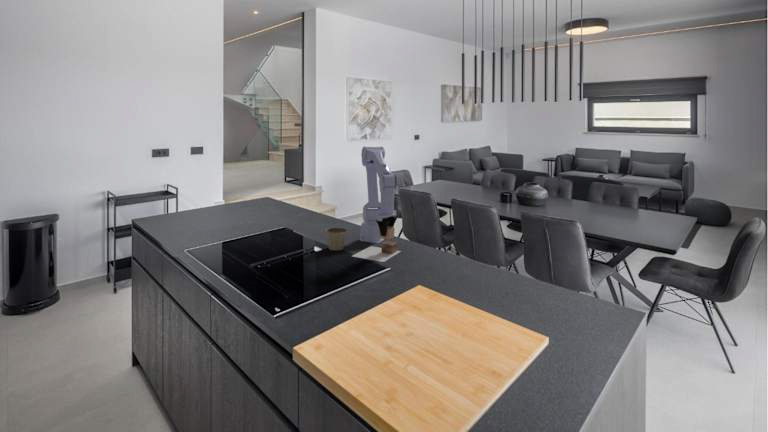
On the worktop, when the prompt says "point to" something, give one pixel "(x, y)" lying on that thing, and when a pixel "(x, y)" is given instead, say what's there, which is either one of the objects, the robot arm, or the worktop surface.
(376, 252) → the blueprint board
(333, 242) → the flower pot
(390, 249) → the walnut block
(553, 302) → the worktop surface
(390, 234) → the terracotta block
